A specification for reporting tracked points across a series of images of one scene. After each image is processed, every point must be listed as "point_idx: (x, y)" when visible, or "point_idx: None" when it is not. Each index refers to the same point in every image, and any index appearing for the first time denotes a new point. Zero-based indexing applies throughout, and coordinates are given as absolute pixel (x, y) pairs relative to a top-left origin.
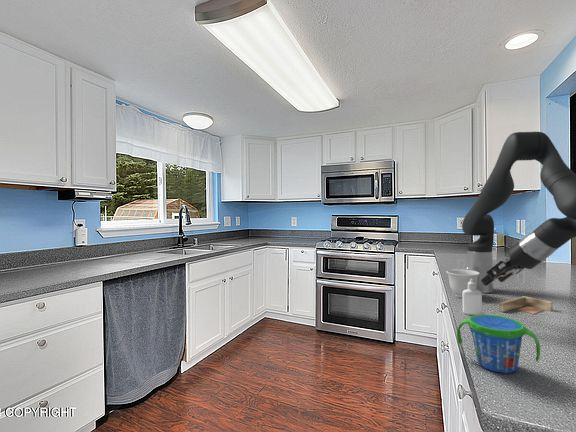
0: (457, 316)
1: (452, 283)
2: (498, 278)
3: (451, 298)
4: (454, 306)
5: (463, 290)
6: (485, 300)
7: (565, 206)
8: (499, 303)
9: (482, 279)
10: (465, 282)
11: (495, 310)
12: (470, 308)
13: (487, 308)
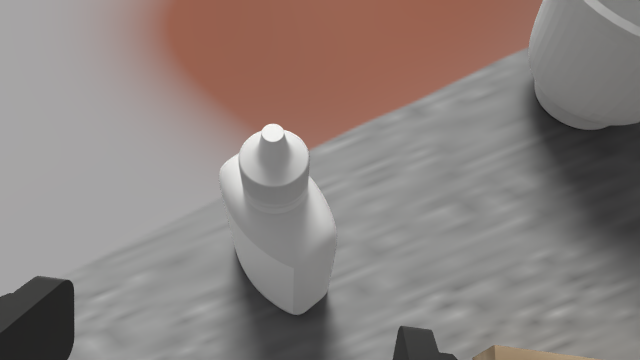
0: (164, 231)
1: (541, 5)
2: (395, 356)
3: (476, 77)
4: (342, 145)
5: (547, 83)
6: (621, 204)
7: None
8: (492, 347)
9: (28, 290)
10: (581, 52)
11: (472, 330)
12: (240, 254)
13: (469, 279)
